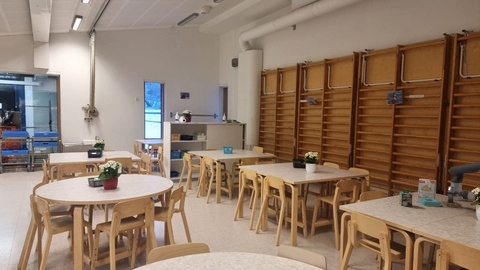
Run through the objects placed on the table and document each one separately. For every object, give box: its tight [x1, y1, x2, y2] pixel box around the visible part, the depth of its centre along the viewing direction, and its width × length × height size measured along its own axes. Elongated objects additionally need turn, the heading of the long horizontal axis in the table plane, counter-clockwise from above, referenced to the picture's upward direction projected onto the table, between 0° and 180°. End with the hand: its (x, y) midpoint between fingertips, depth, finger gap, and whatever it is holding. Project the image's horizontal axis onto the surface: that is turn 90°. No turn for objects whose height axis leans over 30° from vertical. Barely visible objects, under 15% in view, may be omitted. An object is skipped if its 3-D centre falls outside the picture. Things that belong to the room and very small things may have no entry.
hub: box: [418, 198, 442, 207], centre depth 300 cm, size 14×14×4 cm
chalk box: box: [399, 188, 413, 208], centre depth 294 cm, size 9×9×15 cm
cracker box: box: [417, 178, 437, 200], centre depth 316 cm, size 14×6×21 cm, turn 43°
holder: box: [440, 200, 462, 209], centre depth 296 cm, size 12×12×3 cm
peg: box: [447, 185, 455, 202], centre depth 296 cm, size 4×4×14 cm
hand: (447, 192), depth 298 cm, fingers closed on peg, 4 cm apart
